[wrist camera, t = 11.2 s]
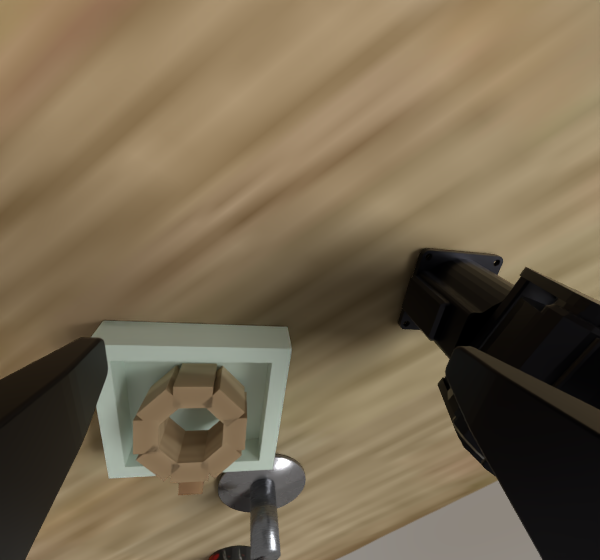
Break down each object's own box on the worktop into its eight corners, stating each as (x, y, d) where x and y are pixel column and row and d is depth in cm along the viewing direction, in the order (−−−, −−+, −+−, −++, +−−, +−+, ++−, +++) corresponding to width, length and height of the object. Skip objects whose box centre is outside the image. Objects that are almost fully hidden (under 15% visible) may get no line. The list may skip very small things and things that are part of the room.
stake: (310, 451, 30) (324, 522, 24) (298, 504, 33) (308, 576, 28) (220, 455, 28) (213, 532, 23) (217, 511, 32) (210, 589, 26)
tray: (287, 326, 23) (291, 348, 21) (270, 441, 28) (272, 469, 26) (103, 320, 21) (85, 344, 19) (121, 447, 26) (108, 478, 24)
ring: (248, 363, 23) (249, 386, 20) (240, 465, 25) (240, 500, 22) (148, 362, 22) (133, 386, 19) (147, 470, 24) (132, 508, 21)
